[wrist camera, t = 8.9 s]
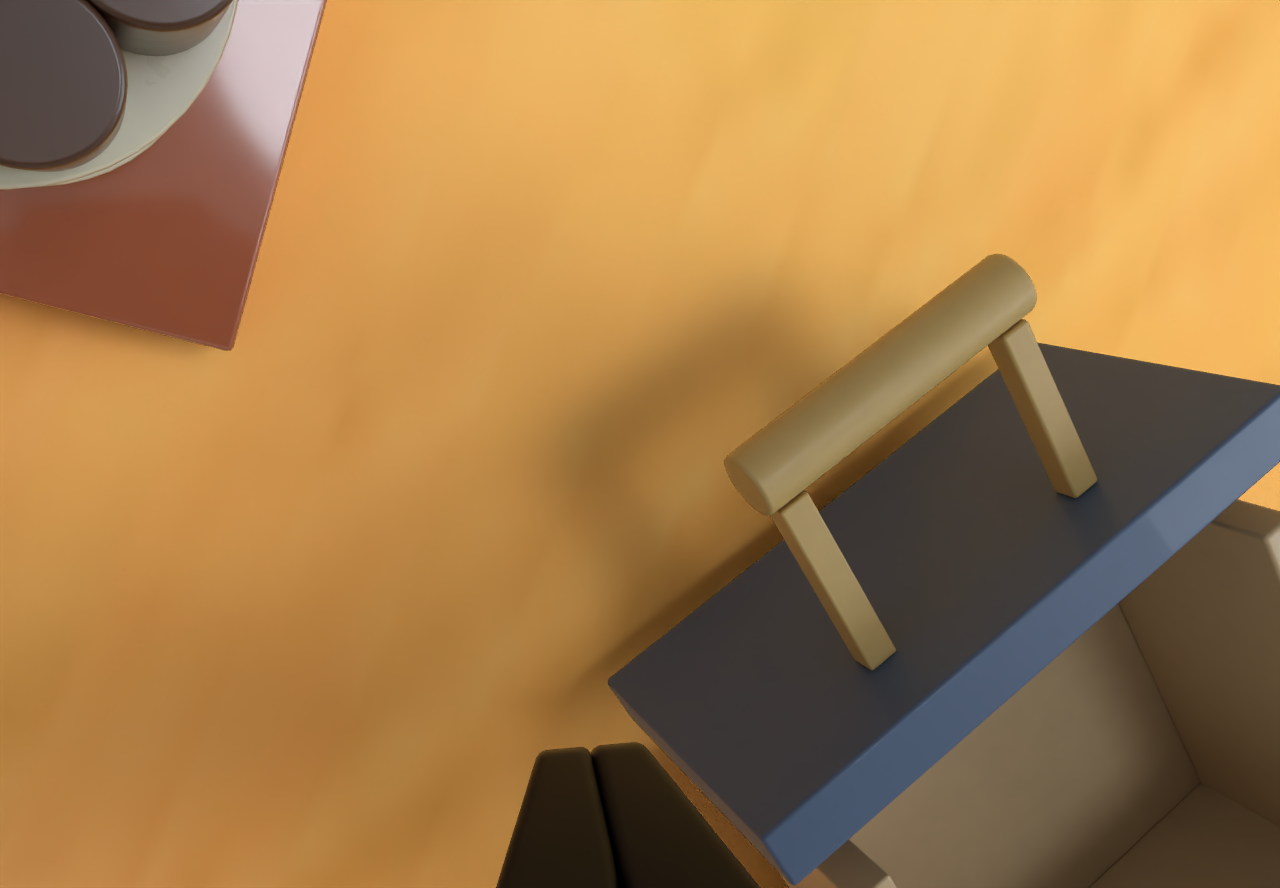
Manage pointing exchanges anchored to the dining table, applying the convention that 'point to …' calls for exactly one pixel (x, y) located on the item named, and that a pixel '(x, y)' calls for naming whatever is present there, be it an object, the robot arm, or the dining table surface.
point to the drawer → (995, 624)
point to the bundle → (98, 81)
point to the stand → (174, 198)
